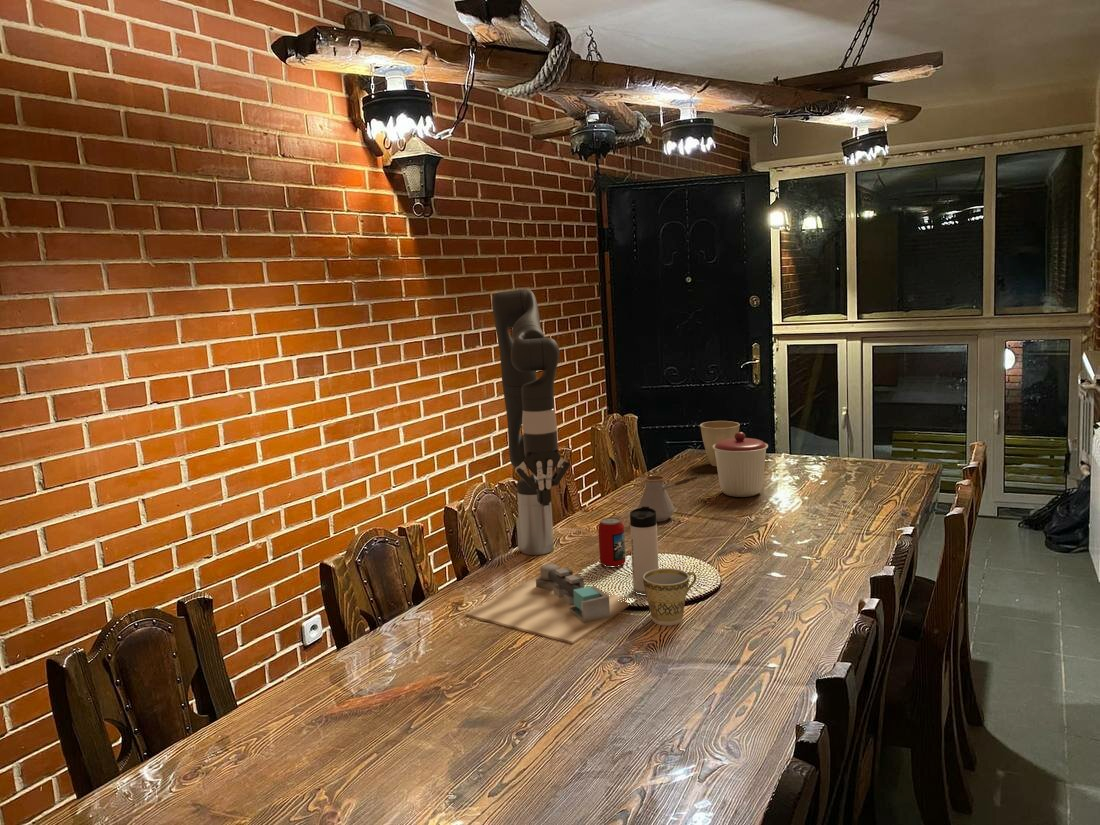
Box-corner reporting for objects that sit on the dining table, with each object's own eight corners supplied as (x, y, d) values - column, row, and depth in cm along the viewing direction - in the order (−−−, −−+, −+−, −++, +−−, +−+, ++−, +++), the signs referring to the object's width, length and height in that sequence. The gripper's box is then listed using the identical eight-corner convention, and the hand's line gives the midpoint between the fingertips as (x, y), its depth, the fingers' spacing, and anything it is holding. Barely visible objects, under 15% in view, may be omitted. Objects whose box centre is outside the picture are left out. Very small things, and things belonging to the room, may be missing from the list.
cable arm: (538, 577, 203) (537, 563, 202) (554, 574, 204) (553, 560, 204) (583, 612, 180) (582, 597, 179) (601, 608, 181) (600, 593, 181)
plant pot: (701, 469, 312) (700, 428, 310) (701, 460, 327) (699, 421, 324) (741, 468, 310) (740, 427, 307) (739, 459, 324) (738, 420, 322)
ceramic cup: (662, 633, 172) (660, 588, 171) (635, 617, 181) (633, 574, 179) (711, 618, 178) (709, 574, 176) (683, 604, 187) (681, 562, 185)
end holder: (569, 612, 185) (568, 591, 184) (595, 605, 187) (594, 585, 187) (584, 623, 178) (582, 602, 177) (610, 617, 181) (609, 596, 180)
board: (465, 615, 188) (464, 605, 187) (534, 579, 208) (534, 569, 208) (572, 643, 170) (572, 632, 169) (636, 600, 190) (636, 590, 190)
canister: (776, 489, 278) (774, 428, 275) (758, 502, 263) (757, 438, 260) (725, 484, 288) (723, 426, 285) (705, 497, 273) (703, 435, 270)
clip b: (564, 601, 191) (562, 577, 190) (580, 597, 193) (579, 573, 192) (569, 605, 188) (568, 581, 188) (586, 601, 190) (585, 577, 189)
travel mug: (662, 586, 198) (658, 506, 195) (656, 596, 192) (653, 514, 189) (636, 584, 200) (633, 505, 197) (630, 595, 194) (626, 513, 191)
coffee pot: (630, 520, 253) (628, 473, 250) (649, 511, 262) (647, 465, 259) (693, 530, 240) (691, 480, 237) (710, 519, 249) (709, 471, 246)
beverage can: (624, 568, 211) (622, 524, 210) (598, 568, 213) (596, 524, 211) (627, 559, 218) (625, 516, 216) (602, 559, 219) (599, 516, 217)
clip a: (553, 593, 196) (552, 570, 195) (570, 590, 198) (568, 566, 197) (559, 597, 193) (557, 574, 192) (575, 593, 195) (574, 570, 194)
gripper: (515, 435, 175) (520, 513, 178) (573, 428, 179) (578, 505, 181) (506, 429, 182) (511, 505, 185) (562, 423, 186) (566, 496, 189)
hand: (544, 504), depth 183 cm, fingers closed
